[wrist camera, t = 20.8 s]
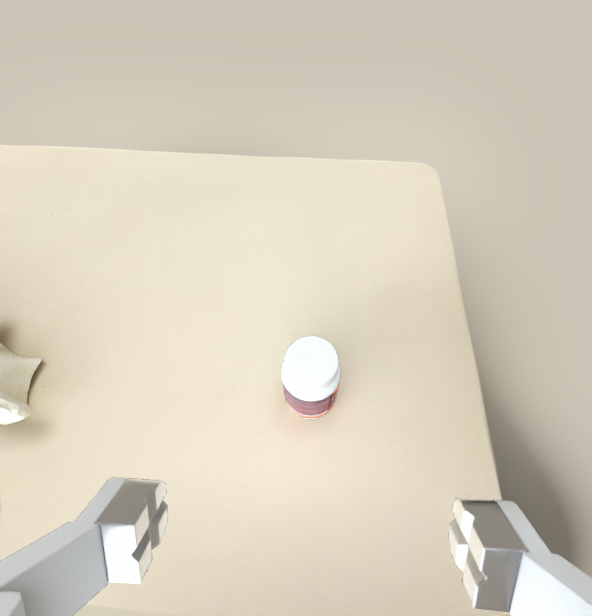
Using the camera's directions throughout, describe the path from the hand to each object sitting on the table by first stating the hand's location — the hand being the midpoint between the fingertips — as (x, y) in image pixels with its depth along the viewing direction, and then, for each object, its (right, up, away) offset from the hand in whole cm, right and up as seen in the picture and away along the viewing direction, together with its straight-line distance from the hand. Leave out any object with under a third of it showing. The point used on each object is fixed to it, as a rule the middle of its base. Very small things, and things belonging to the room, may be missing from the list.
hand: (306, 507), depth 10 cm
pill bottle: (+1, -3, +23) cm, 24 cm away
